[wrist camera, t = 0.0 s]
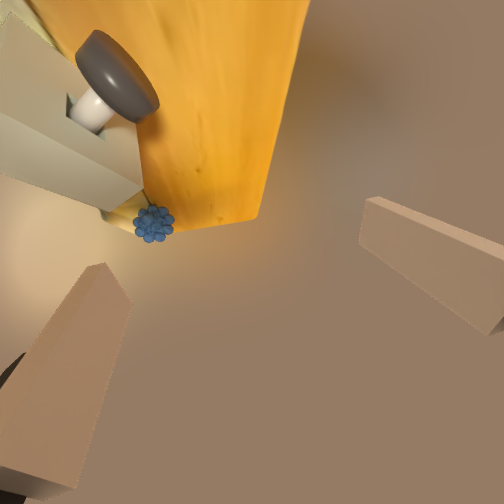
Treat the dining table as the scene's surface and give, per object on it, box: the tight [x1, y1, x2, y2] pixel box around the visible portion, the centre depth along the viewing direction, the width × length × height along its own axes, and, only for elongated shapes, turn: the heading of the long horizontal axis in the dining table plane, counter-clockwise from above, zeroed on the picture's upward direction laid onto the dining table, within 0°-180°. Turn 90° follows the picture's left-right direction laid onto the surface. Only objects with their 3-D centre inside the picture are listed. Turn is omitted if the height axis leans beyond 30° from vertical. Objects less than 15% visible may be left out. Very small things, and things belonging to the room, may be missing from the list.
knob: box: [66, 30, 160, 134], centre depth 26 cm, size 8×11×8 cm
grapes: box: [133, 205, 175, 243], centre depth 56 cm, size 12×7×12 cm, turn 99°
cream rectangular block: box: [0, 12, 144, 212], centre depth 29 cm, size 15×8×16 cm, turn 26°
